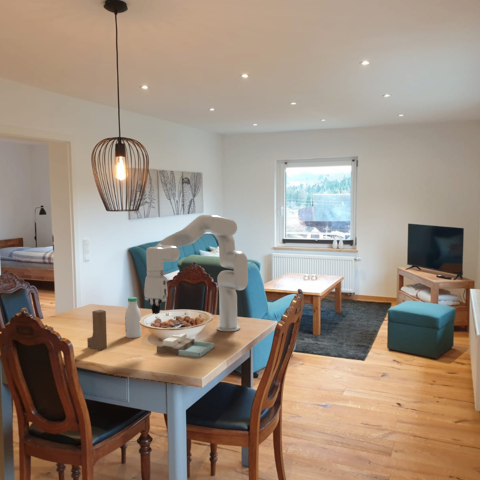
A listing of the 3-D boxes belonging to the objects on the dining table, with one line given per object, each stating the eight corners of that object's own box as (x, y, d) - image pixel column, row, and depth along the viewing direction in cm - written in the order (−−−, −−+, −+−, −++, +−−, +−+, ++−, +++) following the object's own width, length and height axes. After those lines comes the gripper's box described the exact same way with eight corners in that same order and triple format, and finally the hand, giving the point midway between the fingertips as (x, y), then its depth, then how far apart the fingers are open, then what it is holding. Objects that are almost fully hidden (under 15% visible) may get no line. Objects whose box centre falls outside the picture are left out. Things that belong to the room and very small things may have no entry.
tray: (194, 345, 218) (194, 340, 218) (214, 347, 214) (214, 343, 214) (178, 355, 204) (178, 350, 204) (199, 357, 200) (199, 353, 200)
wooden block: (87, 347, 216) (86, 309, 215) (95, 345, 220) (94, 308, 218) (99, 350, 211) (98, 312, 209) (107, 348, 214) (106, 310, 213)
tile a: (177, 337, 220) (177, 332, 220) (186, 338, 218) (186, 333, 218) (172, 340, 216) (171, 335, 215) (181, 341, 214) (181, 336, 213)
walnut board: (174, 342, 223) (174, 336, 222) (194, 345, 219) (194, 338, 218) (156, 352, 208) (156, 346, 208) (178, 355, 204) (177, 348, 204)
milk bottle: (144, 335, 235) (143, 297, 234) (133, 339, 228) (132, 299, 227) (133, 333, 239) (132, 295, 237) (122, 337, 232) (121, 298, 231)
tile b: (168, 342, 213) (168, 337, 213) (178, 343, 211) (178, 338, 211) (163, 345, 208) (163, 340, 208) (172, 346, 206) (172, 341, 206)
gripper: (173, 273, 210) (174, 312, 212) (145, 271, 216) (146, 310, 217) (165, 275, 203) (166, 316, 205) (136, 274, 209) (137, 313, 210)
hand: (156, 313), depth 211 cm, fingers closed
